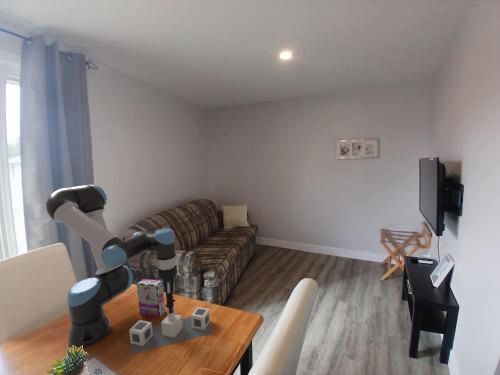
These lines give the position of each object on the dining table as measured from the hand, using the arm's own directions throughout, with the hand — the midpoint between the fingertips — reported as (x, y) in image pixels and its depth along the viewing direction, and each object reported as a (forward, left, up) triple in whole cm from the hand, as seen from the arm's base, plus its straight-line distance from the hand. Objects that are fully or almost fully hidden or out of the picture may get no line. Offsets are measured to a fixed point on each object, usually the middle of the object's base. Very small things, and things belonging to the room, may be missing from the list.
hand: (171, 318), depth 105 cm
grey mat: (0, 0, -7) cm, 7 cm away
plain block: (0, 0, -6) cm, 6 cm away
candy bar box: (-17, +9, -7) cm, 21 cm away
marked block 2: (+10, +7, -6) cm, 14 cm away
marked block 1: (-10, -7, -6) cm, 14 cm away
